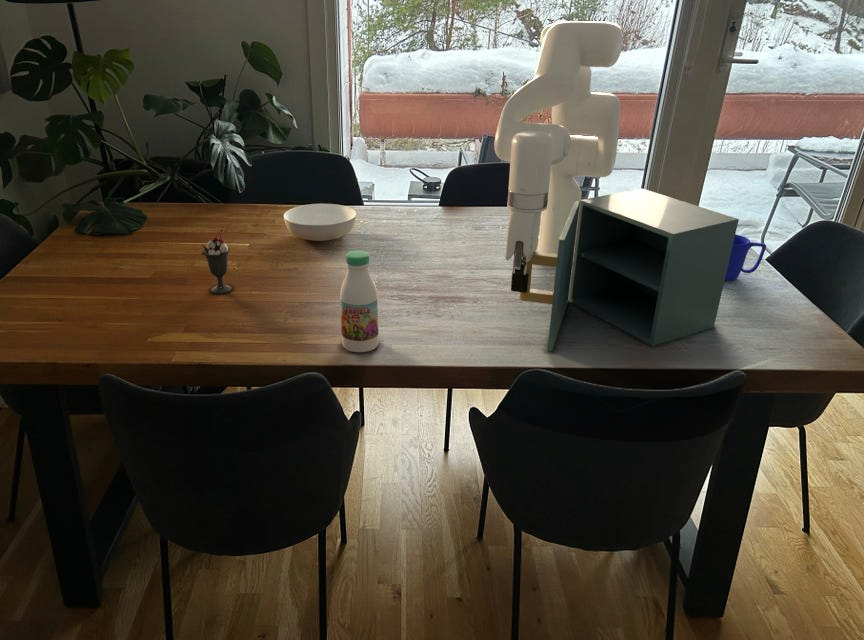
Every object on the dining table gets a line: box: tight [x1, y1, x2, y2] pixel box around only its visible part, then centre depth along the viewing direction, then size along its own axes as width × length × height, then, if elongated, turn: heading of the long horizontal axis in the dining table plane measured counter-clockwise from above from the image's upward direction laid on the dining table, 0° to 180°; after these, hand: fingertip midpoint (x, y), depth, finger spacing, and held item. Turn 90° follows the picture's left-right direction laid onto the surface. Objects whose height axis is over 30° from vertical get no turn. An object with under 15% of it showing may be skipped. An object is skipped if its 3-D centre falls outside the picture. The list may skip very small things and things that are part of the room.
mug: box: [724, 234, 767, 282], centre depth 176 cm, size 8×12×10 cm
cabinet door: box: [518, 201, 580, 352], centre depth 152 cm, size 8×26×24 cm, turn 161°
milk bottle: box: [339, 250, 380, 353], centre depth 145 cm, size 8×8×20 cm
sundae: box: [201, 229, 233, 294], centre depth 173 cm, size 7×7×15 cm
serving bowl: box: [283, 203, 357, 242], centre depth 208 cm, size 21×21×7 cm
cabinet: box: [568, 188, 740, 347], centre depth 155 cm, size 18×26×24 cm
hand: (520, 288), depth 145 cm, fingers closed on cabinet door, 2 cm apart
